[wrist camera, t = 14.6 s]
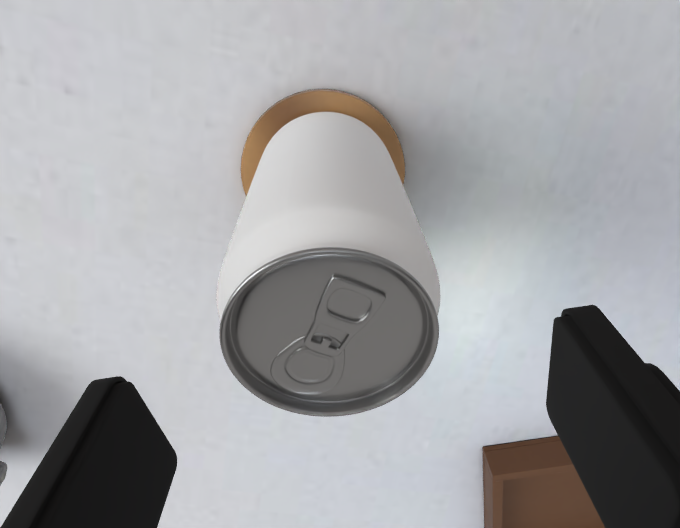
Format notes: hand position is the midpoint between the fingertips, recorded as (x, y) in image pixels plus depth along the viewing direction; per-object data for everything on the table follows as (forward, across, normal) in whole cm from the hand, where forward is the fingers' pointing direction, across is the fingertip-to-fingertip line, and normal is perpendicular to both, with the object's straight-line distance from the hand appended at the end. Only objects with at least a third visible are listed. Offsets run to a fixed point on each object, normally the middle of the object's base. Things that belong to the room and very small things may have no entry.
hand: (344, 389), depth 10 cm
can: (+14, +1, 0) cm, 14 cm away
